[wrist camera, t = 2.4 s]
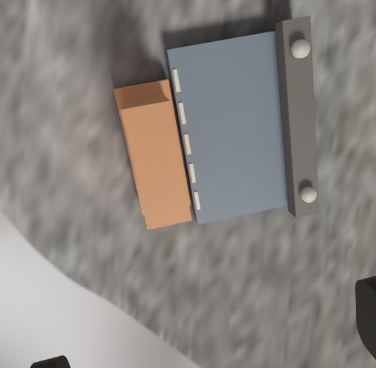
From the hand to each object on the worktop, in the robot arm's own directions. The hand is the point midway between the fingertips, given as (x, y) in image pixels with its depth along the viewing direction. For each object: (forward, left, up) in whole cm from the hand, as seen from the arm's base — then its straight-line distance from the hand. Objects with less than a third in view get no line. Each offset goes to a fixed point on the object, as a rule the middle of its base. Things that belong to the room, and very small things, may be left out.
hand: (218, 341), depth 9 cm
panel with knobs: (-1, +7, -20) cm, 21 cm away
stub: (-1, -1, -20) cm, 20 cm away
